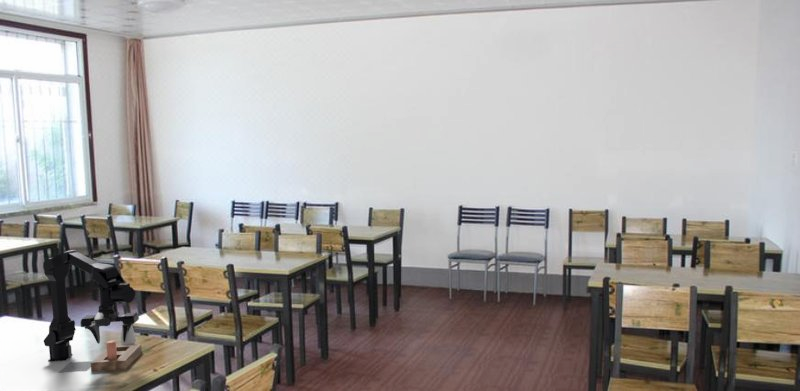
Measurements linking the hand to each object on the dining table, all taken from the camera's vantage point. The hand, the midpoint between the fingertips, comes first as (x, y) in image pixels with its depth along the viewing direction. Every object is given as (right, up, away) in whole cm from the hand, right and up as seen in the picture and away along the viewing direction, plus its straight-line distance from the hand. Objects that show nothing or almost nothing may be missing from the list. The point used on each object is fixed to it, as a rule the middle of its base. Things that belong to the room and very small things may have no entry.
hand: (111, 342), depth 226 cm
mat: (-13, -10, +1) cm, 16 cm away
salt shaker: (-4, -7, +23) cm, 25 cm away
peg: (0, -9, +1) cm, 9 cm away
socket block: (0, -9, +5) cm, 10 cm away
